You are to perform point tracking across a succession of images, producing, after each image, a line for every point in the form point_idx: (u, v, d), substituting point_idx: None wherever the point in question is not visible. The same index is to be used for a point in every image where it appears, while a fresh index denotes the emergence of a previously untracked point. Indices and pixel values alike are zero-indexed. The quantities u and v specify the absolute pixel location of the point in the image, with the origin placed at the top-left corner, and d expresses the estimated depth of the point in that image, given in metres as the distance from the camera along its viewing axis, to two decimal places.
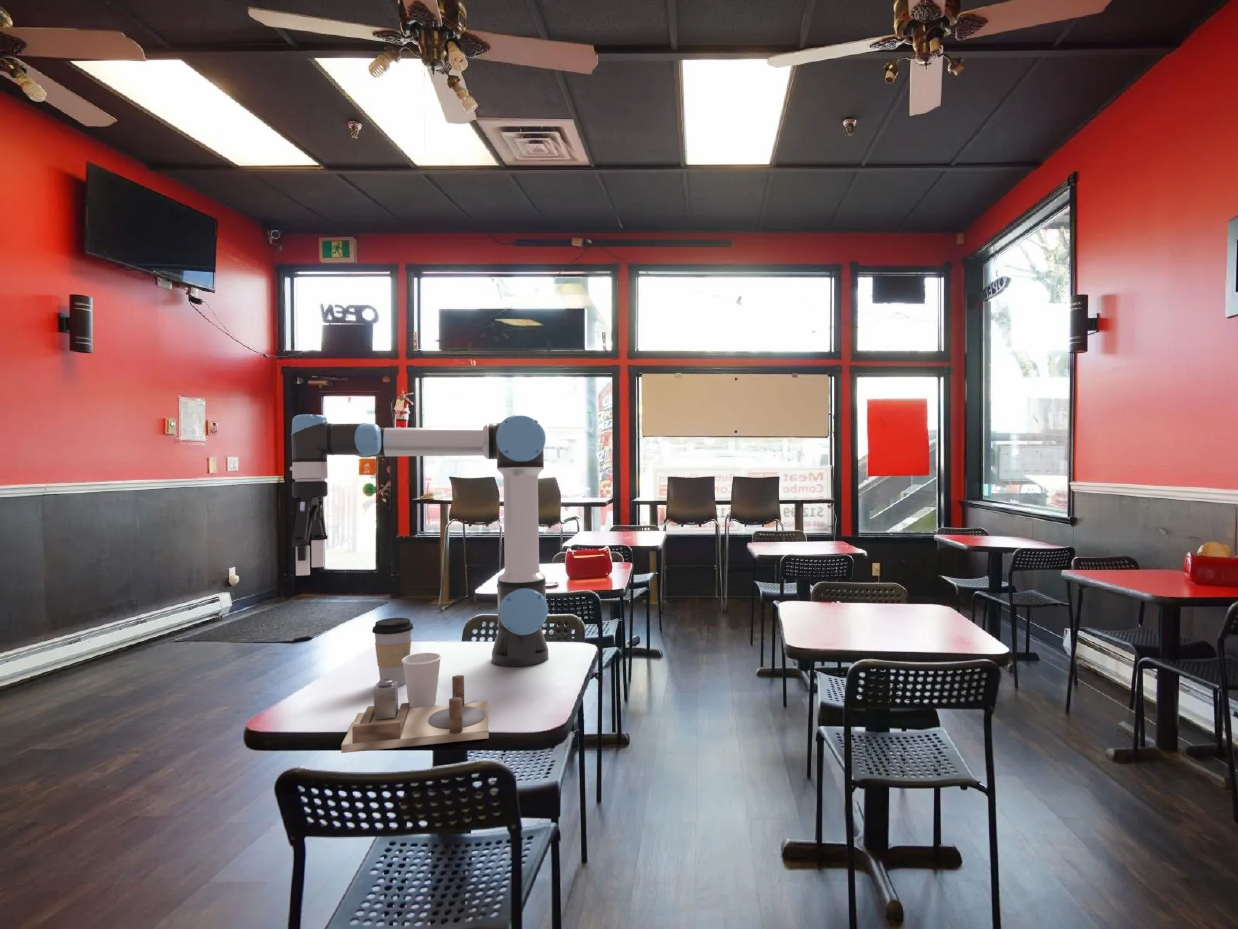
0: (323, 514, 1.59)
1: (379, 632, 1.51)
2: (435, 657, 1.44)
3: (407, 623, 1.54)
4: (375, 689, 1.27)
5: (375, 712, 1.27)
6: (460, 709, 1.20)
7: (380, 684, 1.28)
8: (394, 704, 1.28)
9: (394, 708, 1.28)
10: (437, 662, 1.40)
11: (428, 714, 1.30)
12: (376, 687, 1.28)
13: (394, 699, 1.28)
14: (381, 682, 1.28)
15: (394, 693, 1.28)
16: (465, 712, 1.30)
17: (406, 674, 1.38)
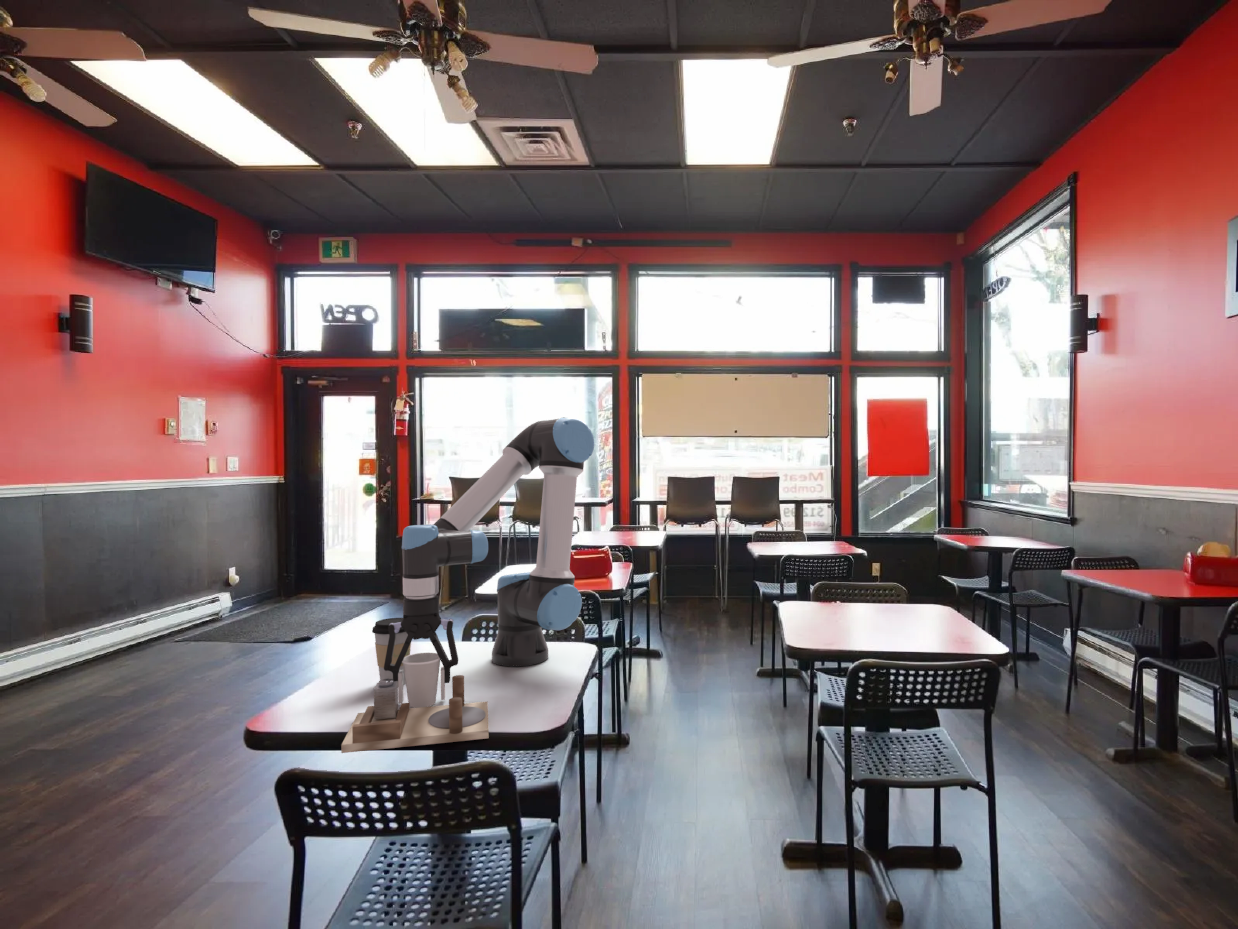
0: (452, 638, 1.41)
1: (379, 632, 1.51)
2: (435, 657, 1.44)
3: None
4: (375, 689, 1.27)
5: (375, 712, 1.27)
6: (460, 709, 1.20)
7: (380, 684, 1.28)
8: (394, 704, 1.28)
9: (394, 708, 1.28)
10: (437, 662, 1.40)
11: (428, 714, 1.30)
12: (376, 687, 1.28)
13: (394, 699, 1.28)
14: (381, 682, 1.28)
15: (394, 693, 1.28)
16: (465, 712, 1.30)
17: (406, 674, 1.38)
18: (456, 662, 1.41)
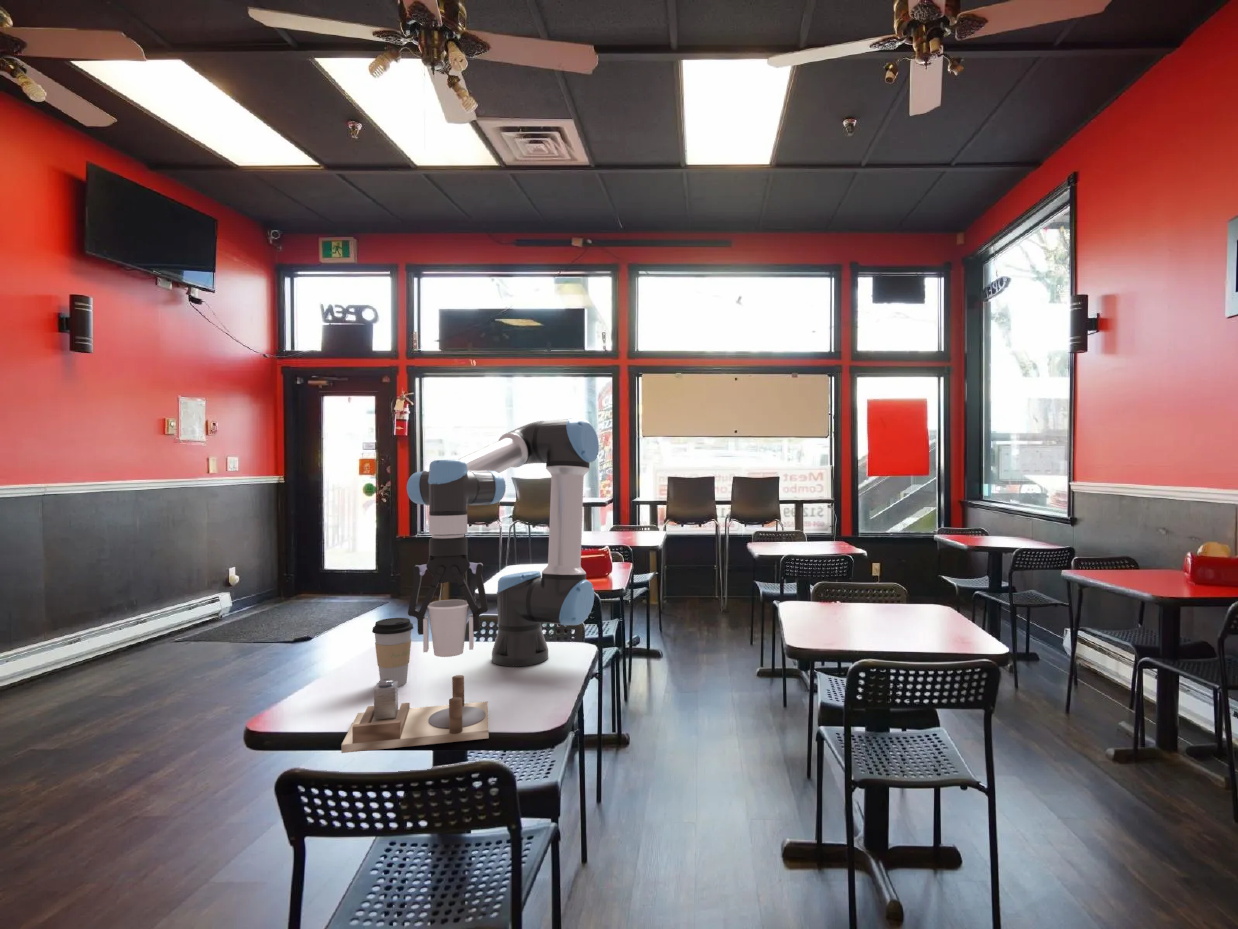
0: (482, 583, 1.30)
1: (379, 632, 1.51)
2: (463, 604, 1.32)
3: (407, 623, 1.54)
4: (375, 689, 1.27)
5: (375, 712, 1.27)
6: (460, 709, 1.20)
7: (380, 684, 1.28)
8: (394, 704, 1.28)
9: (394, 708, 1.28)
10: (465, 608, 1.28)
11: (428, 714, 1.30)
12: (376, 687, 1.28)
13: (394, 699, 1.28)
14: (381, 682, 1.28)
15: (394, 693, 1.28)
16: (465, 712, 1.30)
17: (432, 620, 1.27)
18: (486, 609, 1.30)
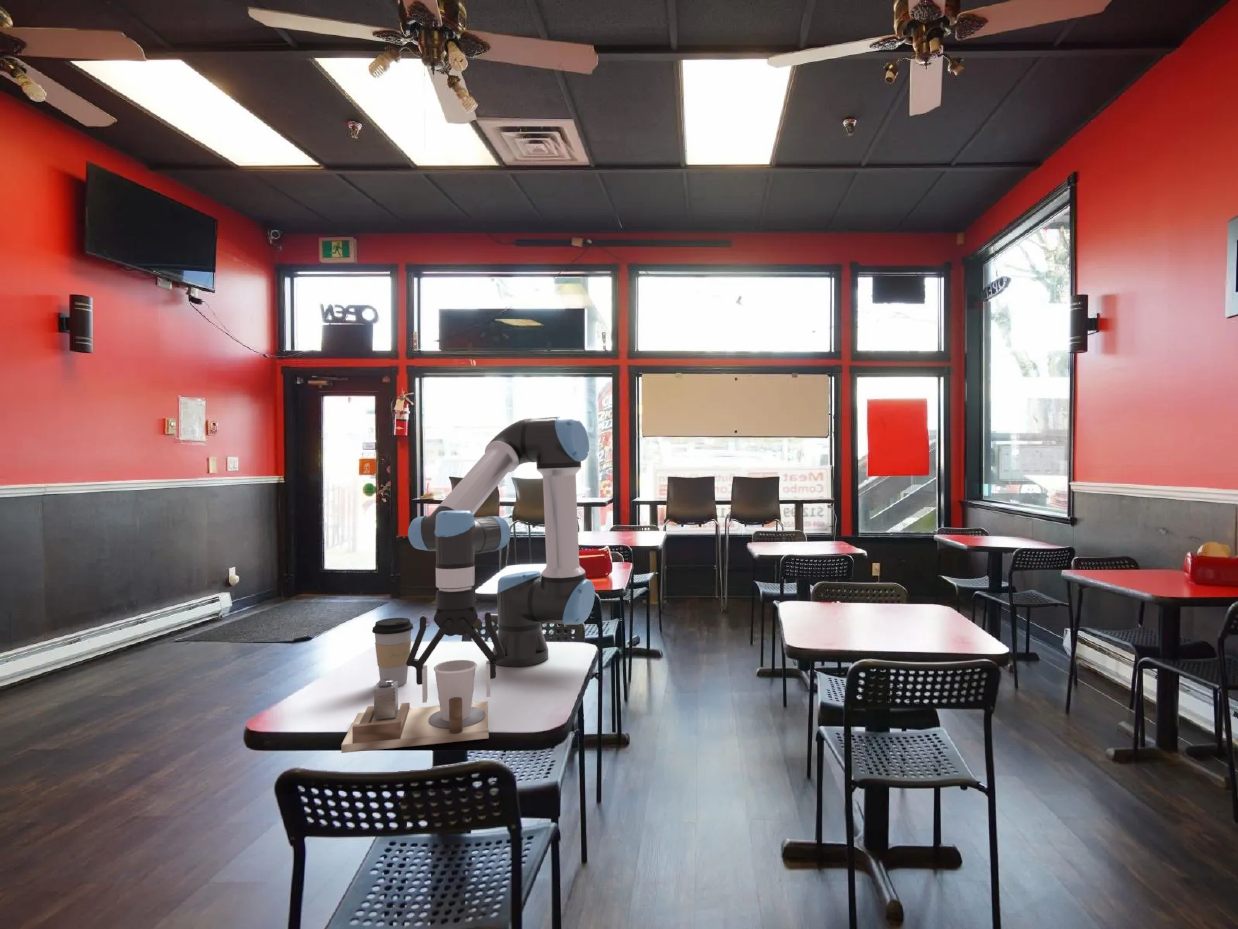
0: (493, 631, 1.28)
1: (379, 632, 1.51)
2: (469, 665, 1.31)
3: (407, 623, 1.54)
4: (375, 689, 1.27)
5: (375, 712, 1.27)
6: (460, 709, 1.20)
7: (380, 684, 1.28)
8: (394, 704, 1.28)
9: (394, 708, 1.28)
10: (473, 670, 1.27)
11: (428, 714, 1.30)
12: (376, 687, 1.28)
13: (394, 699, 1.28)
14: (381, 682, 1.28)
15: (394, 693, 1.28)
16: None
17: (439, 684, 1.25)
18: (503, 655, 1.29)
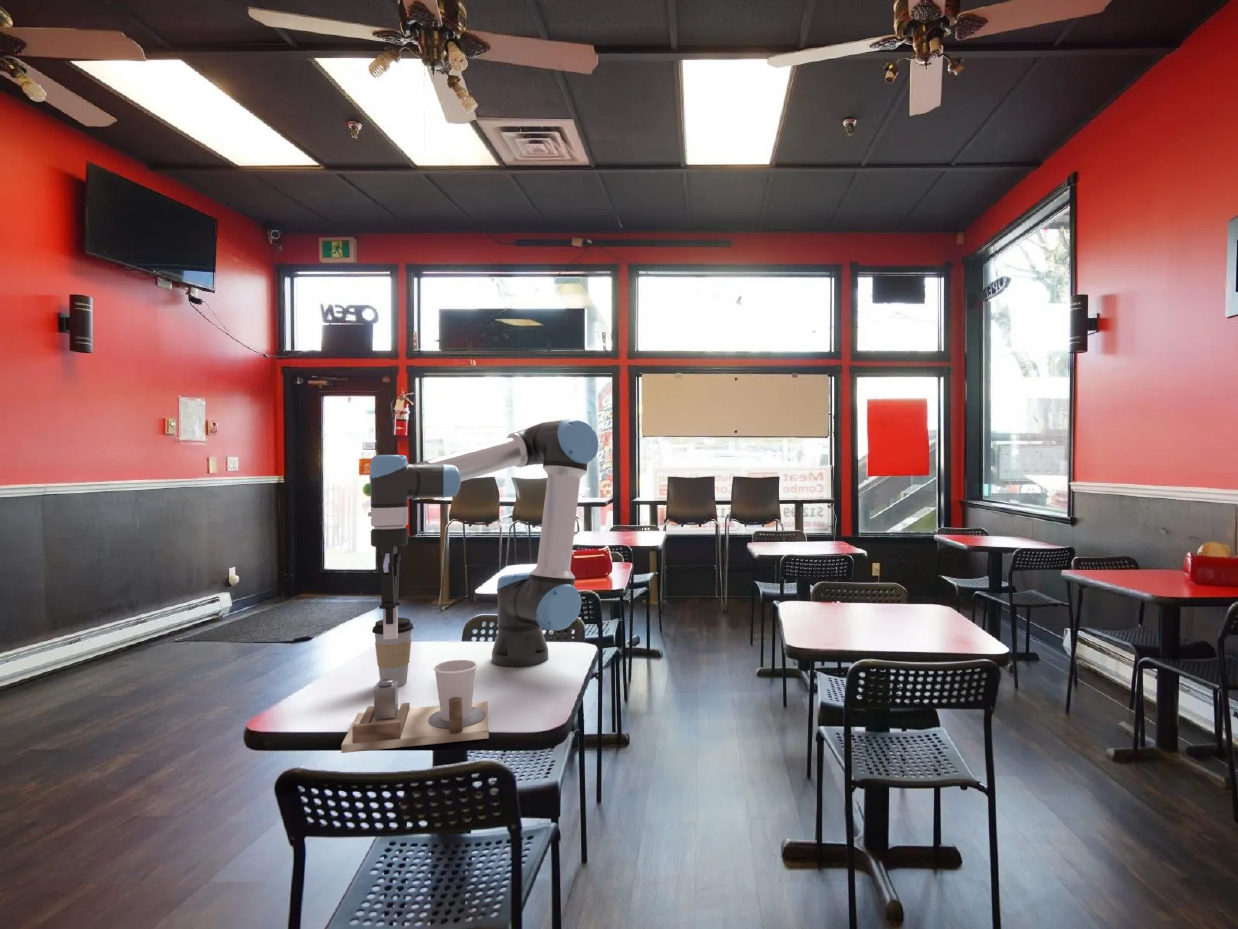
0: (398, 574, 1.42)
1: (379, 632, 1.51)
2: (469, 665, 1.31)
3: (407, 623, 1.54)
4: (375, 689, 1.27)
5: (375, 712, 1.27)
6: (460, 709, 1.20)
7: (380, 684, 1.28)
8: (394, 704, 1.28)
9: (394, 708, 1.28)
10: (473, 670, 1.27)
11: (428, 714, 1.30)
12: (376, 687, 1.28)
13: (394, 699, 1.28)
14: (381, 682, 1.28)
15: (394, 693, 1.28)
16: None
17: (439, 684, 1.25)
18: None
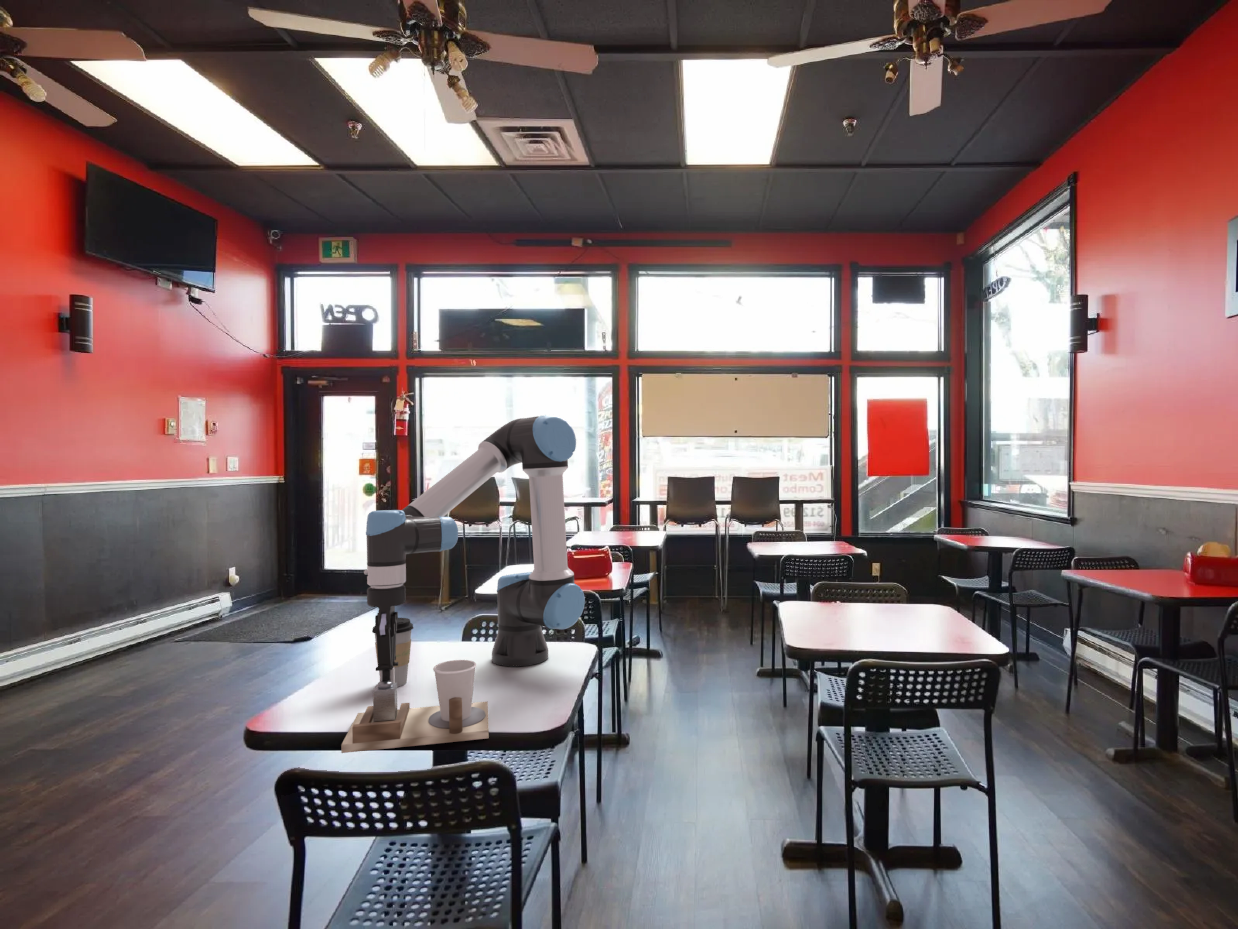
0: None
1: None
2: (469, 665, 1.31)
3: (407, 623, 1.54)
4: (374, 691, 1.26)
5: (374, 714, 1.26)
6: (460, 709, 1.20)
7: (379, 686, 1.27)
8: (393, 706, 1.27)
9: (393, 710, 1.27)
10: (473, 670, 1.27)
11: (428, 714, 1.30)
12: (375, 689, 1.27)
13: (393, 701, 1.27)
14: (380, 684, 1.27)
15: (393, 695, 1.27)
16: None
17: (439, 684, 1.25)
18: None
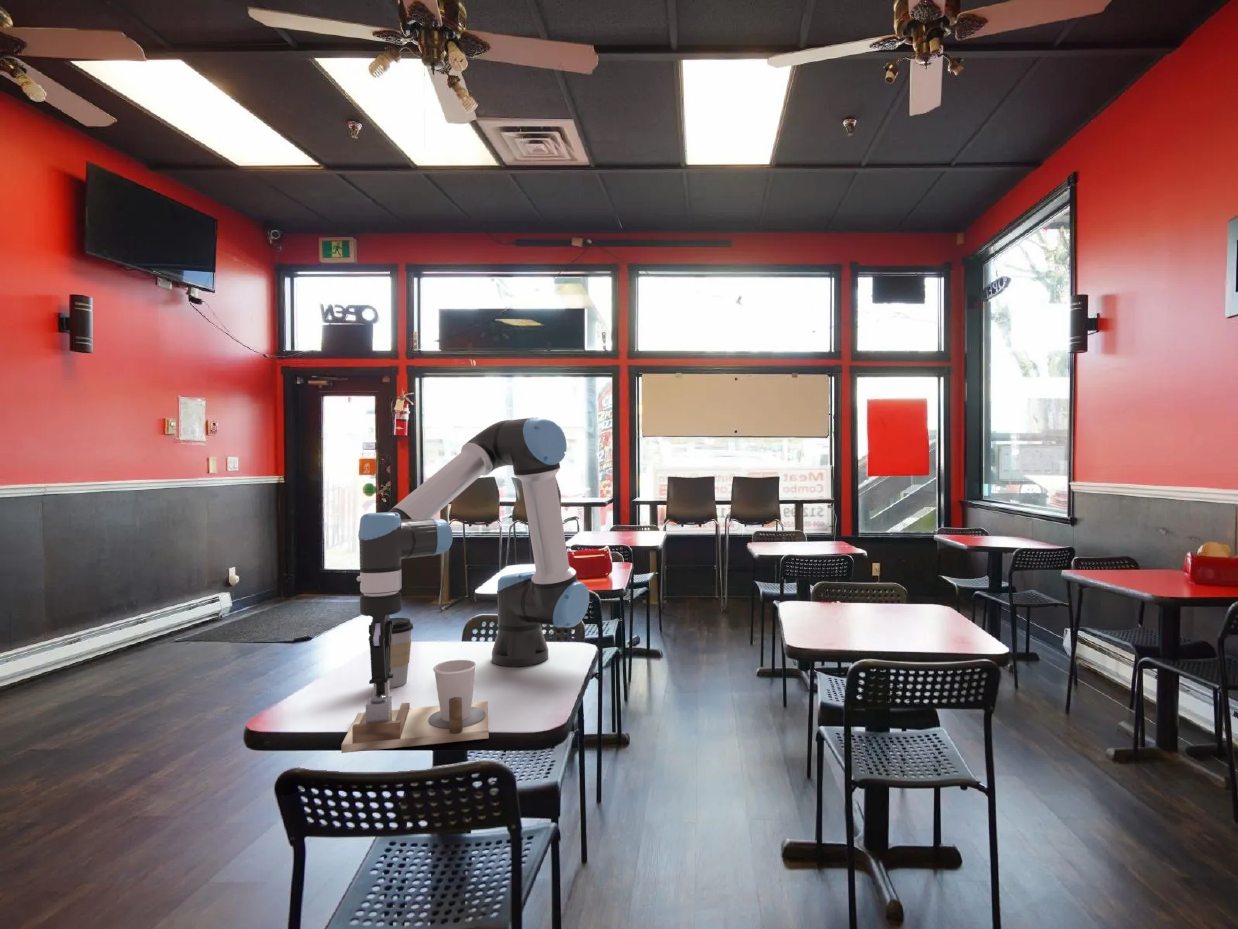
0: None
1: None
2: (469, 665, 1.31)
3: (407, 623, 1.54)
4: (367, 705, 1.18)
5: None
6: (460, 709, 1.20)
7: (372, 700, 1.19)
8: None
9: None
10: (473, 670, 1.27)
11: (428, 714, 1.30)
12: (368, 703, 1.19)
13: (387, 716, 1.19)
14: (373, 698, 1.19)
15: (387, 709, 1.19)
16: None
17: (439, 684, 1.25)
18: None
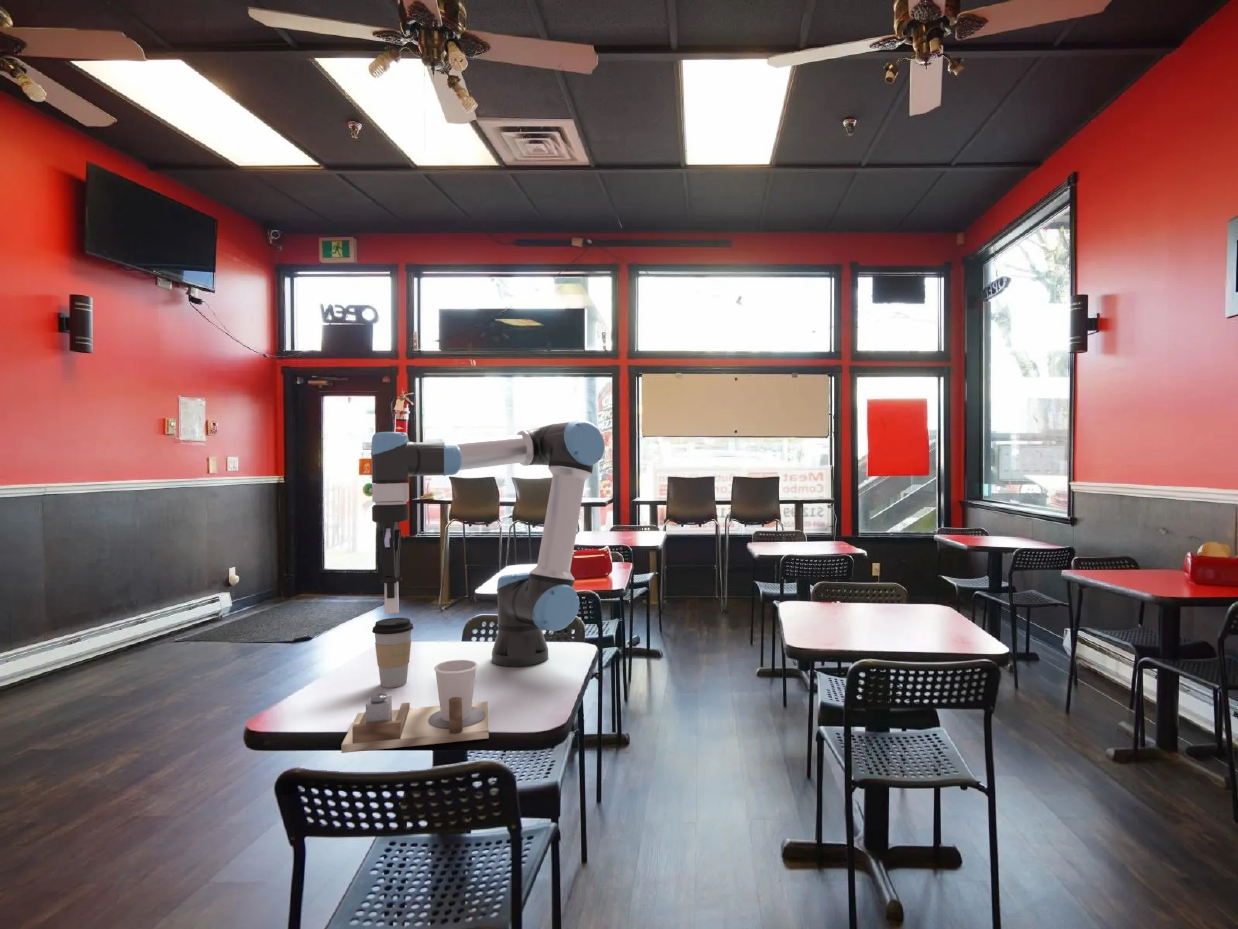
0: (399, 550, 1.44)
1: (379, 632, 1.51)
2: (469, 665, 1.31)
3: (407, 623, 1.54)
4: (367, 705, 1.18)
5: None
6: (460, 709, 1.20)
7: (372, 700, 1.19)
8: None
9: None
10: (474, 670, 1.27)
11: (428, 714, 1.30)
12: (368, 703, 1.19)
13: (387, 716, 1.19)
14: (373, 698, 1.19)
15: (387, 709, 1.19)
16: None
17: (440, 684, 1.25)
18: None
